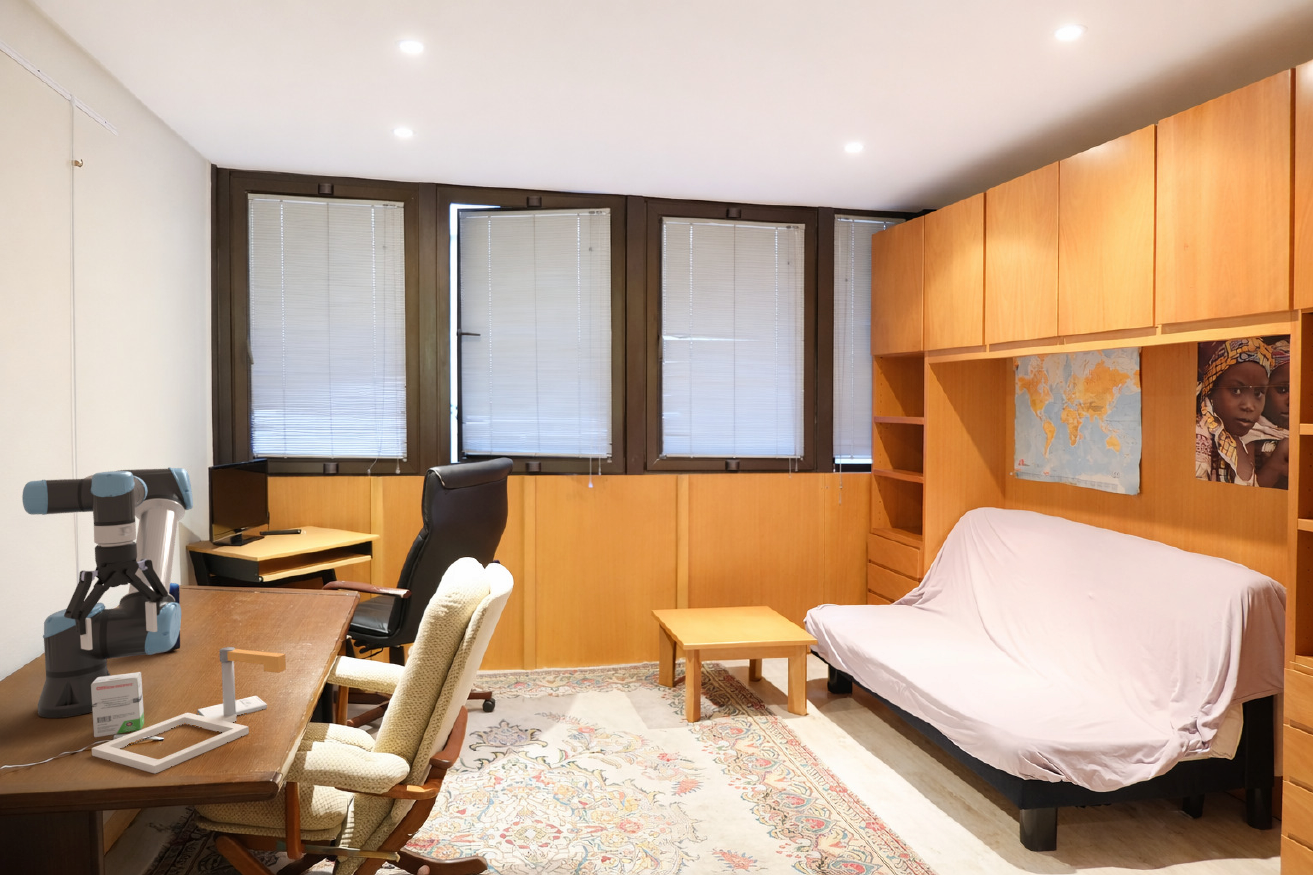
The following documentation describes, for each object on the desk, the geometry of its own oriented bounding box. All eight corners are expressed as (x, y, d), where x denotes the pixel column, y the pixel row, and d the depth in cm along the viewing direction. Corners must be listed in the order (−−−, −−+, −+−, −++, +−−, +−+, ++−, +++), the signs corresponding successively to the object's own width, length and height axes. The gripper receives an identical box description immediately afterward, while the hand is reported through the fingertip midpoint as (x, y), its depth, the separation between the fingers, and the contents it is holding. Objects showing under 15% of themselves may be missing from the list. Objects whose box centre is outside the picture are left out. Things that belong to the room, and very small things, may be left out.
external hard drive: (197, 715, 180) (256, 700, 188) (207, 725, 174) (267, 710, 182) (197, 708, 180) (255, 694, 188) (206, 718, 174) (266, 703, 182)
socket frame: (92, 755, 159) (89, 689, 158) (205, 712, 181) (202, 654, 180) (155, 773, 150) (152, 703, 150) (265, 725, 172) (263, 664, 172)
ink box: (145, 722, 175) (143, 670, 175) (140, 730, 171) (138, 677, 170) (99, 729, 172) (96, 675, 171) (92, 738, 167) (90, 683, 167)
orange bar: (277, 673, 169) (276, 656, 169) (216, 667, 174) (216, 650, 174) (287, 669, 172) (286, 652, 171) (228, 662, 177) (227, 646, 176)
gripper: (61, 555, 158) (67, 659, 159) (182, 534, 180) (187, 626, 181) (40, 552, 161) (46, 654, 162) (162, 532, 183) (166, 622, 185)
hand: (120, 639), depth 172 cm, fingers open, 13 cm apart
